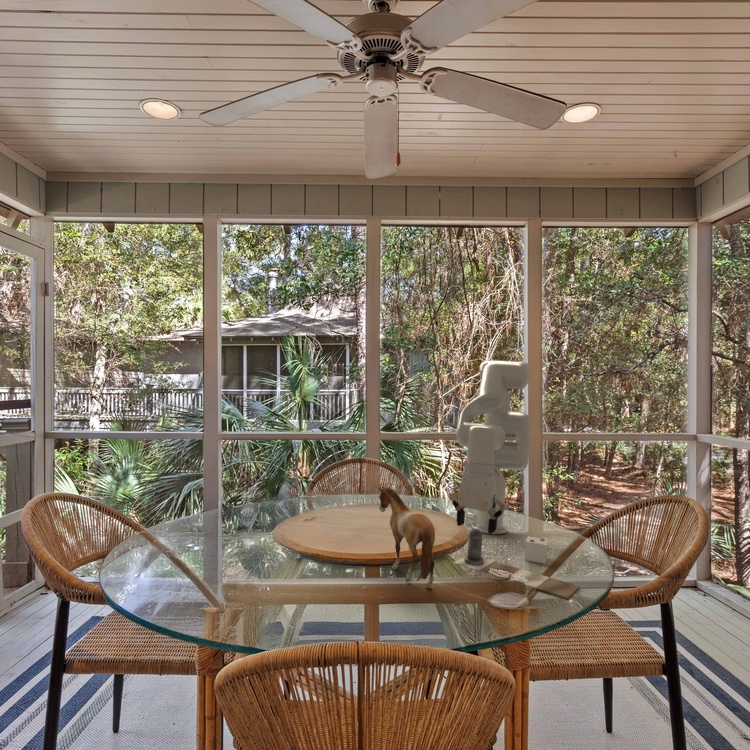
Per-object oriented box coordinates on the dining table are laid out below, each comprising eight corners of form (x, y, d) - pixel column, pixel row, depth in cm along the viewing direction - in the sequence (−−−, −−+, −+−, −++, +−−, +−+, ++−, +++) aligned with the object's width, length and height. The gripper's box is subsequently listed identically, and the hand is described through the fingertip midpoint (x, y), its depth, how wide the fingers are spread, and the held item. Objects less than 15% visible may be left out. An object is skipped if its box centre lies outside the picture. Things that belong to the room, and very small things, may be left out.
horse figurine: (372, 556, 151) (377, 485, 151) (397, 554, 153) (402, 484, 153) (418, 602, 122) (423, 514, 121) (447, 599, 124) (453, 513, 124)
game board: (452, 564, 148) (453, 562, 148) (469, 556, 156) (469, 554, 156) (567, 600, 128) (567, 597, 128) (579, 588, 136) (579, 585, 136)
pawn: (461, 561, 149) (463, 528, 149) (469, 557, 153) (471, 525, 153) (478, 566, 146) (480, 533, 146) (486, 562, 150) (488, 529, 150)
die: (524, 561, 154) (525, 541, 154) (526, 555, 160) (527, 535, 160) (545, 565, 152) (547, 544, 152) (547, 559, 157) (548, 539, 157)
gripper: (446, 465, 151) (442, 524, 151) (502, 474, 141) (498, 538, 141) (459, 463, 157) (455, 520, 157) (513, 472, 147) (509, 533, 147)
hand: (475, 528), depth 149 cm, fingers open, 9 cm apart
